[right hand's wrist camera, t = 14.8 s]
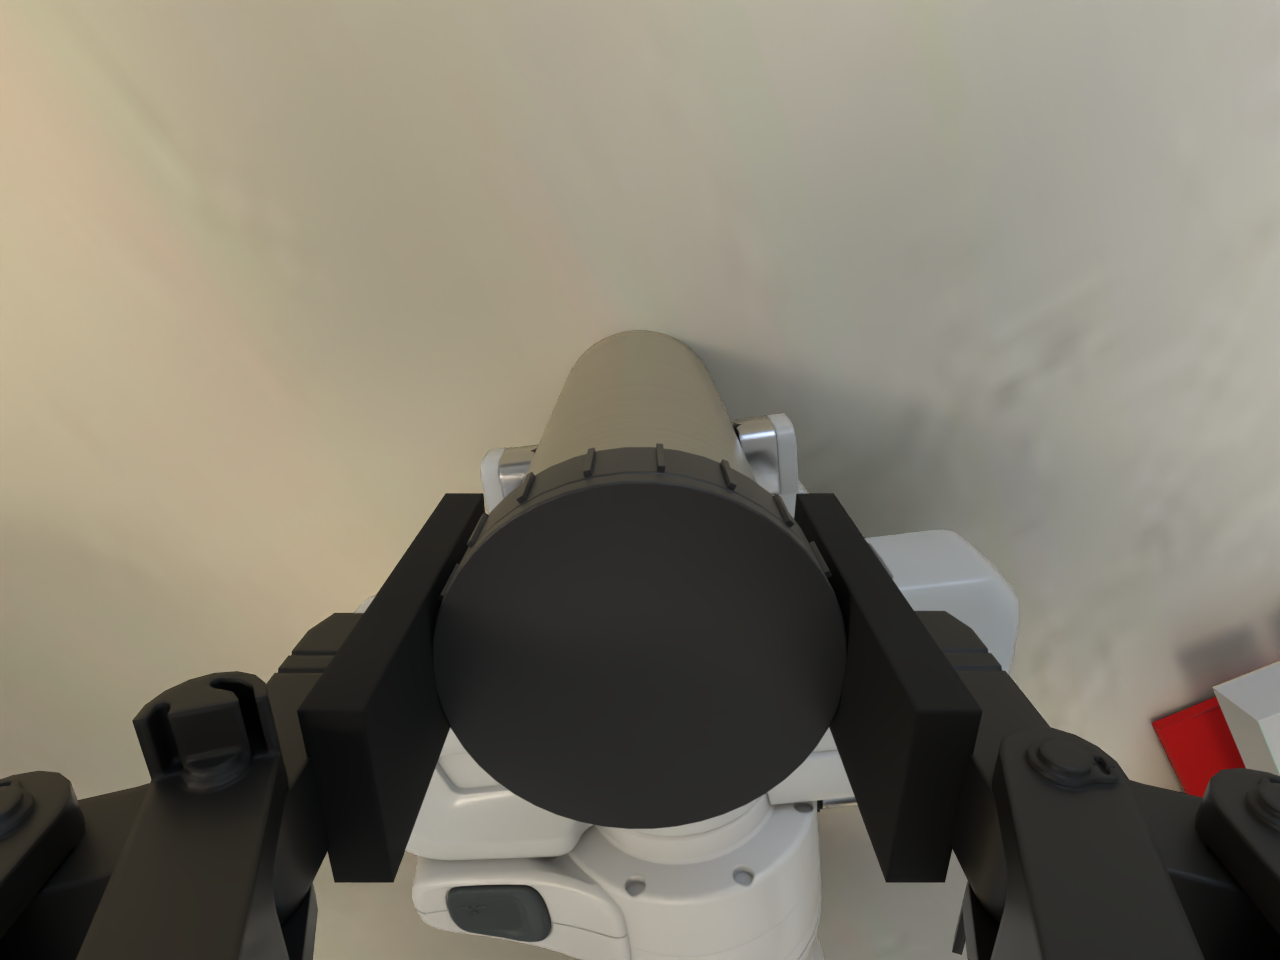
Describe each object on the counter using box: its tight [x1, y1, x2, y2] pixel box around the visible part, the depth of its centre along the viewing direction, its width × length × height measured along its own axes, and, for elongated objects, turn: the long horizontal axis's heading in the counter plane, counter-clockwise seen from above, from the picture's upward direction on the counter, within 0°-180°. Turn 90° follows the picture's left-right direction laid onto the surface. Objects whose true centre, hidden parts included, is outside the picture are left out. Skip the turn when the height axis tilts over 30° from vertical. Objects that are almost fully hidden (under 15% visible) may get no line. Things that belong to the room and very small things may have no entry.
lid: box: [432, 443, 847, 829], centre depth 11 cm, size 6×6×2 cm
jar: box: [522, 331, 757, 483], centre depth 18 cm, size 6×6×15 cm
